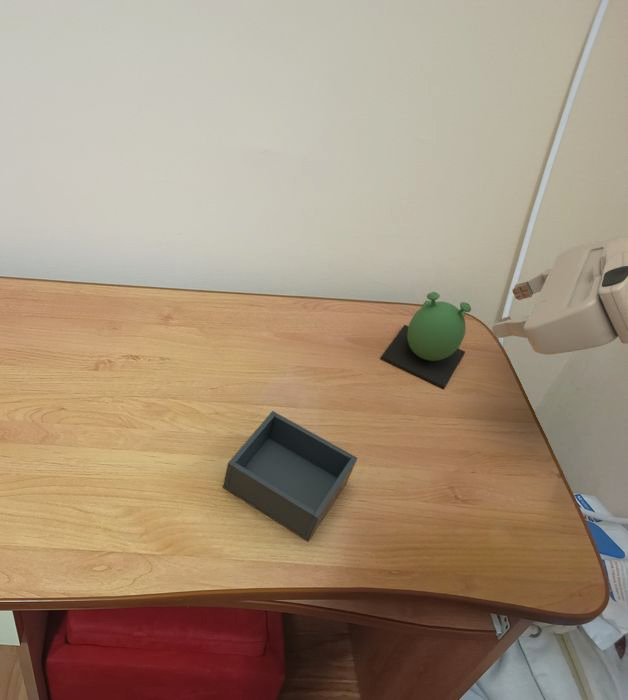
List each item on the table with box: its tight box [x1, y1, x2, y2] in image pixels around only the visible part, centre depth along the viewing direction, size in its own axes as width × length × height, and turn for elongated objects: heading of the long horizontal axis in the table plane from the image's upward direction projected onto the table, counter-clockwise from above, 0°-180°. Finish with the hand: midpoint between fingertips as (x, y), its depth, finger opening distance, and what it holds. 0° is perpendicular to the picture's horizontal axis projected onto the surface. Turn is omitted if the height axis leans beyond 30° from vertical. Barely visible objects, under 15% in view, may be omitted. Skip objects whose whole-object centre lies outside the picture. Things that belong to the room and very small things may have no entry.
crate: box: [222, 410, 358, 542], centre depth 69 cm, size 11×10×4 cm
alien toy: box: [407, 291, 472, 361], centre depth 84 cm, size 7×8×10 cm
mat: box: [379, 324, 466, 390], centre depth 88 cm, size 9×9×1 cm
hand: (505, 310), depth 77 cm, fingers open, 8 cm apart
